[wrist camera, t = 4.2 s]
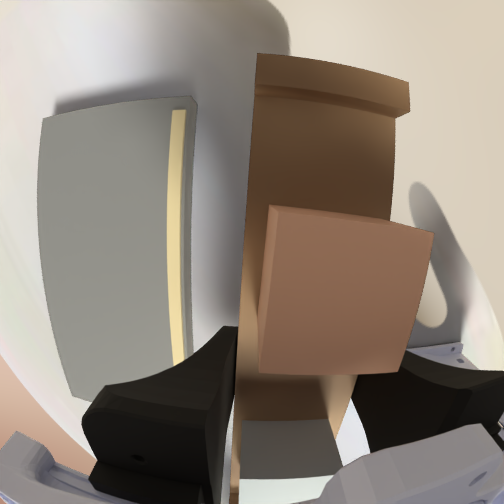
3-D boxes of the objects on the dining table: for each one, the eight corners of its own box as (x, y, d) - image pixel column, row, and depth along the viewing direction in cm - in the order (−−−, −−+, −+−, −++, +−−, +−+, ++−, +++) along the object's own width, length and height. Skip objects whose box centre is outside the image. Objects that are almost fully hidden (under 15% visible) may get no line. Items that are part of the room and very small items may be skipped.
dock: (197, 104, 17) (189, 94, 15) (197, 407, 22) (192, 425, 20) (57, 122, 17) (40, 117, 15) (81, 384, 22) (70, 397, 20)
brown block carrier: (255, 103, 11) (257, 52, 6) (355, 117, 11) (408, 82, 6) (232, 452, 15) (228, 512, 10) (300, 453, 15) (309, 512, 11)
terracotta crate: (380, 218, 8) (434, 233, 5) (360, 322, 9) (397, 371, 6) (269, 204, 8) (278, 212, 5) (257, 317, 9) (259, 373, 6)
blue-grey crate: (328, 418, 10) (345, 473, 7) (313, 464, 11) (322, 512, 8) (242, 420, 10) (239, 479, 7) (240, 466, 11) (238, 516, 8)
